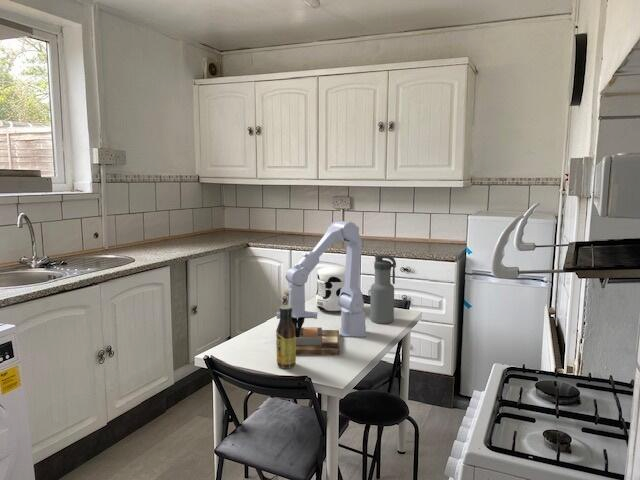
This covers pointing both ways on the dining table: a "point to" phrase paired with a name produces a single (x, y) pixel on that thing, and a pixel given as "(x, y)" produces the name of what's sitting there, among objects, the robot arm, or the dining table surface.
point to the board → (322, 345)
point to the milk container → (329, 288)
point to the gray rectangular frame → (309, 338)
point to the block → (310, 332)
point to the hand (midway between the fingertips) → (297, 337)
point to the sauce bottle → (286, 339)
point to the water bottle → (382, 290)
